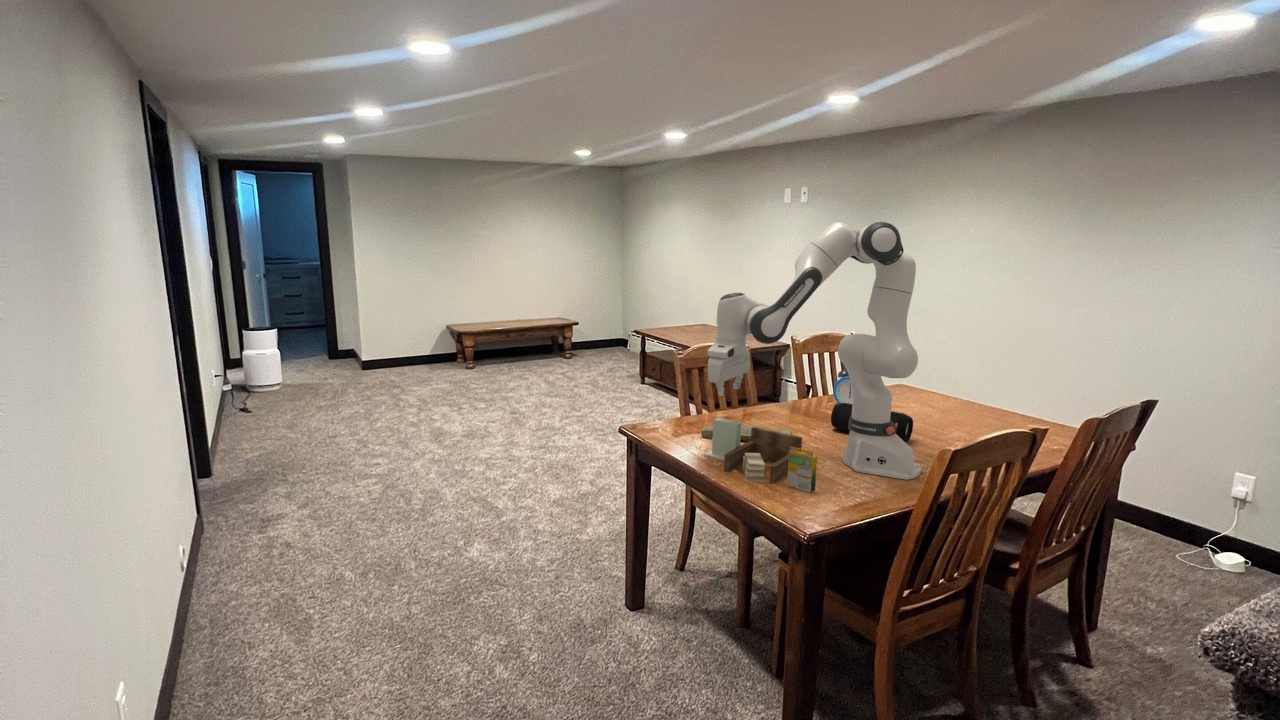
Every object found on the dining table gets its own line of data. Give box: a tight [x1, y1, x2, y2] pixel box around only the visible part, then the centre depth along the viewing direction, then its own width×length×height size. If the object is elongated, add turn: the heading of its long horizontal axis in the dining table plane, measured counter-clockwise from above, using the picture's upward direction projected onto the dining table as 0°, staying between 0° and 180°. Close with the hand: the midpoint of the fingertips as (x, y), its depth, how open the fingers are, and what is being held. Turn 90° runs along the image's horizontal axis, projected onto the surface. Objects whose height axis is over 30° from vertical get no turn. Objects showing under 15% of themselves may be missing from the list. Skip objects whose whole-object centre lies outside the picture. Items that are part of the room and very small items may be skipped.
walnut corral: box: [723, 427, 803, 485], centre depth 197 cm, size 16×18×9 cm
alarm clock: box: [832, 369, 853, 404], centre depth 265 cm, size 13×6×15 cm, turn 61°
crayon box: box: [786, 446, 818, 494], centre depth 183 cm, size 7×3×12 cm, turn 48°
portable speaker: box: [830, 403, 914, 443], centre depth 230 cm, size 26×10×10 cm, turn 52°
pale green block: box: [711, 417, 742, 457], centre depth 205 cm, size 8×3×11 cm, turn 54°
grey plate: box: [703, 449, 725, 462], centre depth 208 cm, size 11×8×1 cm
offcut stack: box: [741, 453, 766, 483], centre depth 193 cm, size 12×5×5 cm, turn 178°
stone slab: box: [700, 424, 792, 442], centre depth 227 cm, size 12×4×30 cm
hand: (729, 391), depth 204 cm, fingers open, 8 cm apart
